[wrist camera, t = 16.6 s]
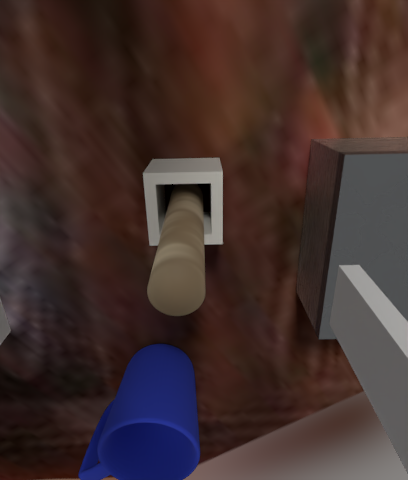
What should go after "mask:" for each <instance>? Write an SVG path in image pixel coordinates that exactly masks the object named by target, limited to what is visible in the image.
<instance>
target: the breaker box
mask: <svg viewBox="0 0 408 480" xmlns="http://www.w3.org/2000/svg"><path fill="white" fill-rule="evenodd" d="M339 265H360V266H361V268H362V269H363V270H364V271H365V272H366V273H367V275H368V276H369V277H370V278H371V279H372V280H373V282H374V283H375V284H376V285H377V286H378V288H379V289H380V290H381V291H382V292H383V293H384V295H385V296H386V297H387V298H388V299H389V300H390V302H391V303H392V304H393V305H394V306H395V307H396V309H397V310H398V311H399V312H400V313H401V315H402V316H403V317H404V318H405V319H406V320H407V322H408V137H386V138H340V139H311V149H310V159H309V169H308V178H307V188H306V198H305V208H304V218H303V227H302V237H301V247H300V257H299V267H298V276H297V286H296V291H297V294H298V296H299V298H300V300H301V302H302V304H303V306H304V309H305V311H306V313H307V315H308V317H309V319H310V322H311V324H312V326H313V328H314V330H315V332H316V335H317V337H318V339H337V338H336V336H335V334H334V332H333V330H332V328H331V326H330V324H329V323H330V317H331V311H332V305H333V299H334V292H335V286H336V280H337V274H338V268H339Z"/></svg>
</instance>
